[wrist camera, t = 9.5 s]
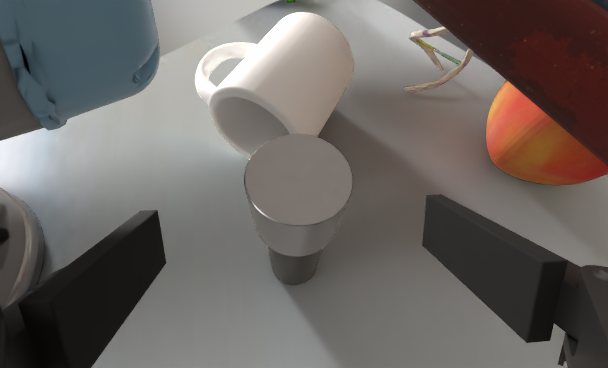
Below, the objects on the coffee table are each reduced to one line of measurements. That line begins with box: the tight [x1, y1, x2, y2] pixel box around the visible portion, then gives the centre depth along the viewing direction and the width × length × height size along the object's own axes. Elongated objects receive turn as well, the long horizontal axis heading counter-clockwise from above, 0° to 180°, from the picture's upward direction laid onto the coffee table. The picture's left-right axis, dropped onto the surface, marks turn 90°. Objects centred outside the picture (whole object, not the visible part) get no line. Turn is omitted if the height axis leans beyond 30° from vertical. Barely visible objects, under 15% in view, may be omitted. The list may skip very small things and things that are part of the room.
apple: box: [486, 80, 608, 185], centre depth 21 cm, size 10×10×10 cm
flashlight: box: [244, 134, 353, 285], centre depth 16 cm, size 4×4×12 cm
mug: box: [195, 12, 354, 159], centre depth 24 cm, size 12×10×8 cm
